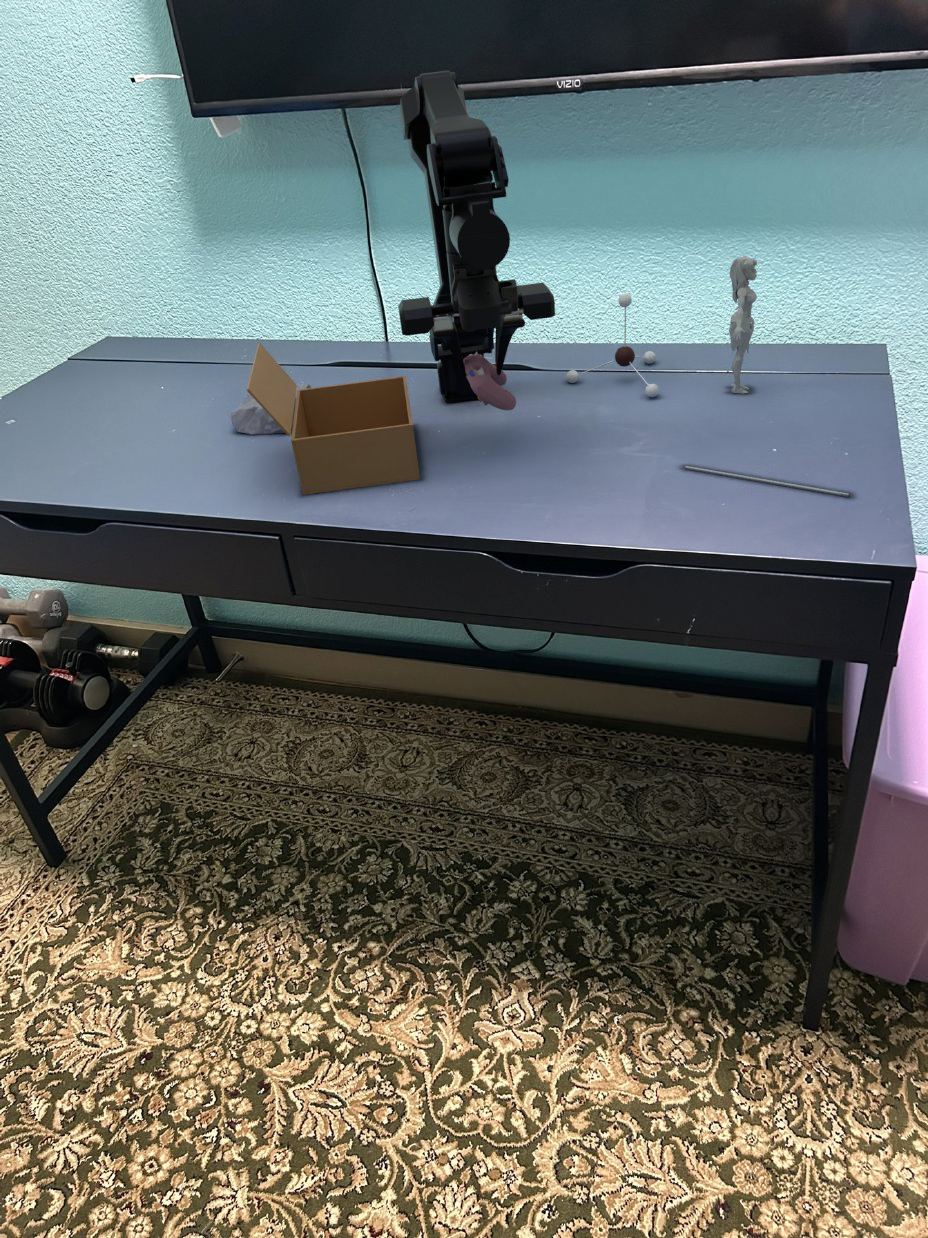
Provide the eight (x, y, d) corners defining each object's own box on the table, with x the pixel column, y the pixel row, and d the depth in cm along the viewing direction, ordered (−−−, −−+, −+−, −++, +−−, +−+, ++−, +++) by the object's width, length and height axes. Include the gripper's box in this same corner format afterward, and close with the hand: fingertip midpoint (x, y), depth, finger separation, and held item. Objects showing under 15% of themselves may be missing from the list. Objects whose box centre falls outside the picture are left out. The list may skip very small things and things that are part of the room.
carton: (420, 479, 113) (412, 424, 109) (303, 495, 112) (290, 440, 108) (412, 426, 127) (405, 375, 122) (307, 440, 126) (297, 389, 122)
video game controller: (480, 397, 122) (452, 354, 118) (508, 378, 120) (482, 335, 117) (489, 426, 113) (460, 381, 110) (520, 406, 112) (492, 361, 109)
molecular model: (564, 381, 135) (561, 296, 127) (651, 360, 139) (653, 276, 131) (608, 411, 124) (608, 320, 117) (701, 387, 128) (706, 297, 121)
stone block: (233, 445, 131) (293, 432, 128) (219, 415, 129) (280, 400, 125) (264, 415, 141) (321, 402, 137) (252, 386, 138) (309, 372, 135)
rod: (849, 500, 100) (850, 494, 99) (684, 471, 109) (684, 466, 108) (850, 497, 100) (851, 491, 100) (686, 469, 109) (687, 463, 109)
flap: (248, 388, 104) (246, 390, 104) (290, 434, 108) (288, 436, 108) (259, 342, 118) (258, 343, 118) (296, 384, 121) (295, 386, 121)
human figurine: (746, 407, 121) (759, 269, 111) (717, 407, 122) (727, 270, 112) (750, 374, 130) (762, 244, 120) (723, 374, 131) (733, 245, 121)
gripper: (394, 276, 99) (412, 409, 108) (562, 255, 99) (565, 390, 108) (390, 251, 108) (407, 377, 117) (544, 232, 108) (549, 359, 118)
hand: (481, 376), depth 115 cm, fingers closed on video game controller, 4 cm apart
